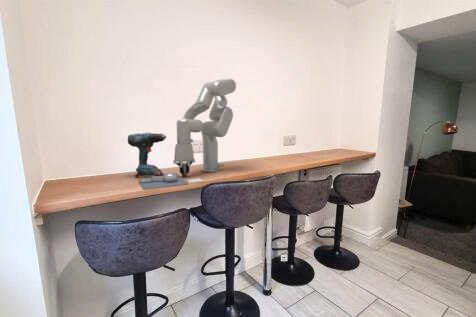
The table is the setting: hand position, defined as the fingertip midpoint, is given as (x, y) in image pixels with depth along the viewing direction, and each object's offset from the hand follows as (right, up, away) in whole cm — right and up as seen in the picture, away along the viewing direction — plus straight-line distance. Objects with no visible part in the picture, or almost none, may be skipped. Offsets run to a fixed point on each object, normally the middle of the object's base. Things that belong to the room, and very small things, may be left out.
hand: (184, 173), depth 138 cm
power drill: (-20, -2, 0) cm, 20 cm away
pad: (+8, -4, -9) cm, 12 cm away
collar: (-11, -3, -11) cm, 16 cm away
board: (-9, -4, -12) cm, 15 cm away
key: (0, -2, 0) cm, 2 cm away
